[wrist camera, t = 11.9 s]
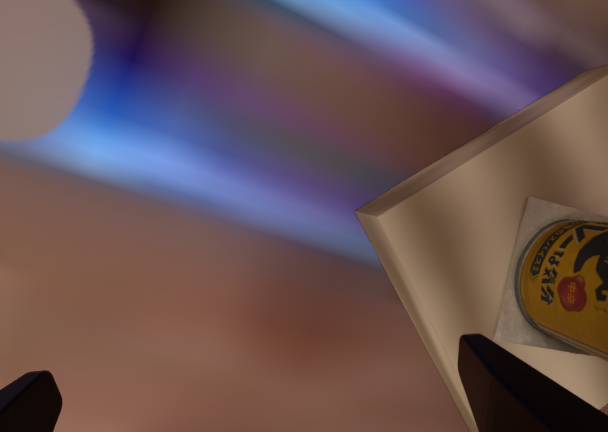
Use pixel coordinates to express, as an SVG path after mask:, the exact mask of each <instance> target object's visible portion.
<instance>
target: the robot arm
mask: <svg viewBox="0 0 608 432" xmlns="http://www.w3.org/2000/svg"><path fill="white" fill-rule="evenodd" d="M458 372H459V376H460V379H461V382H462V385H463V388H464V391H465V393H466V396H467V399H468V402H469V405H470V408H471V411H472V414H473V417H474V420H475V422H476V425H477V428H478V431H479V432H608V415H606V414H605V413H603V412H601V411H600V410H598V409H597V408H595V407H594V406H592V405H591V404H589V403H588V402H586V401H584V400H583V399H581V398H580V397H578V396H577V395H575V394H574V393H572V392H571V391H569V390H567V389H566V388H564V387H563V386H561V385H560V384H558V383H557V382H555V381H554V380H552V379H550V378H549V377H547V376H546V375H544V374H543V373H541V372H540V371H538V370H537V369H535V368H533V367H532V366H530V365H529V364H527V363H526V362H524V361H523V360H521V359H519V358H518V357H516V356H515V355H513V354H512V353H510V352H509V351H507V350H506V349H504V348H502V347H501V346H499V345H498V344H496V343H495V342H493V341H492V340H490V339H489V338H487V337H485V336H484V335H482V334H480V333H473V334H463V335H461V336H460V339H459V350H458ZM61 409H62V397H61V394H60V392H59V389H58V387H57V385H56V382H55V380H54V378H53V375H52V374H51V373H50V372H49V371H46V370H44V371H32V372H28V373H26V374H24V375H23V376H21V377H20V378H18V379H17V380H15V381H14V382H12V383H10V384H9V385H7V386H6V387H4V388H3V389H1V390H0V432H53V430H54V428H55V425H56V422H57V420H58V417H59V414H60V412H61Z"/></svg>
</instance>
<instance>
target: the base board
mask: <svg viewBox="0 0 608 432" xmlns="http://www.w3.org/2000/svg"><path fill="white" fill-rule="evenodd" d="M529 196H531V197H534V198H537V199H541V200H545V201H549V202H553V203H556V204H560V205H564V206H568V207H572V208H576V209H579V210H583V211H587V212H591V213H595V214H599V215H603V216H607V217H608V65H606V66H602V67H598V68H595V69H591V70H587V71H584V72H583V73H581V74H579V75H578V76H576V77H574V78H573V79H571V80H569V81H568V82H566V83H564V84H563V85H561V86H560V87H558V88H556V89H555V90H553V91H551V92H550V93H548V94H546V95H545V96H543V97H541V98H540V99H538V100H537V101H535V102H533V103H532V104H530V105H528V106H527V107H525V108H523V109H522V110H520V111H518V112H517V113H515V114H513V115H512V116H510V117H509V118H507V119H505V120H504V121H502V122H500V123H499V124H497V125H495V126H494V127H492V128H490V129H489V130H487V131H486V132H484V133H482V134H481V135H479V136H477V137H476V138H474V139H472V140H471V141H469V142H467V143H466V144H464V145H462V146H461V147H459V148H458V149H456V150H454V151H453V152H451V153H449V154H448V155H446V156H444V157H443V158H441V159H439V160H438V161H436V162H435V163H433V164H431V165H430V166H428V167H426V168H425V169H423V170H421V171H420V172H418V173H416V174H415V175H413V176H411V177H410V178H408V179H407V180H405V181H403V182H402V183H400V184H398V185H397V186H395V187H393V188H392V189H390V190H388V191H387V192H385V193H384V194H382V195H380V196H379V197H377V198H375V199H374V200H372V201H370V202H369V203H367V204H365V205H364V206H362V207H360V208H359V209H357V210H356V211H354V212H355V214H356V215H357V217H358V219H359V221H360V223H361V225H362V227H363V229H364V231H365V233H366V234H367V236H368V238H369V240H370V242H371V244H372V246H373V248H374V250H375V252H376V253H377V255H378V257H379V259H380V261H381V263H382V265H383V267H384V269H385V271H386V272H387V274H388V276H389V278H390V280H391V282H392V284H393V286H394V288H395V290H396V291H397V293H398V295H399V297H400V299H401V301H402V303H403V305H404V307H405V309H406V311H407V312H408V314H409V316H410V318H411V320H412V322H413V324H414V326H415V328H416V330H417V331H418V333H419V335H420V337H421V339H422V341H423V343H424V345H425V347H426V349H427V350H428V352H429V354H430V356H431V358H432V360H433V362H434V364H435V366H436V368H437V369H438V371H439V373H440V375H441V377H442V379H443V381H444V383H445V385H446V387H447V388H448V390H449V392H450V394H451V396H452V398H453V400H454V402H455V404H456V406H457V407H458V409H459V411H460V413H461V415H462V417H463V419H464V421H465V423H466V425H467V426H468V428H469V430H470V432H479V431H478V428H477V425H476V422H475V420H474V417H473V414H472V411H471V408H470V405H469V402H468V399H467V396H466V393H465V391H464V388H463V385H462V382H461V379H460V376H459V372H458V350H459V339H460V336H461V335H463V334H473V333H480V334H482V335H484V336H485V337H487V338H489V339H490V340H492V341H493V340H494V336H495V333H496V329H497V325H498V320H499V316H500V313H501V305H502V300H503V294H504V290H505V286H506V283H507V278H508V274H509V269H510V264H511V260H512V256H513V253H514V250H515V245H516V241H517V237H518V234H519V232H520V228H521V222H522V220H523V218H524V213H525V209H526V204H527V201H528V198H529ZM493 342H495V343H496V344H498V345H499V346H501V347H502V348H504V349H506V350H507V351H509V352H510V353H512V354H513V355H515V356H516V357H518V358H519V359H521V360H523V361H524V362H526V363H527V364H529V365H530V366H532V367H533V368H535V369H537V370H538V371H540V372H541V373H543V374H544V375H546V376H547V377H549V378H550V379H552V380H554V381H555V382H557V383H558V384H560V385H561V386H563V387H564V388H566V389H567V390H569V391H571V392H572V393H574V394H575V395H577V396H578V397H580V398H581V399H583V400H584V401H586V402H588V403H589V404H591V405H592V406H594V407H595V408H597V409H598V410H600V409H601V408H602V407H604V406H605V405H606V404H607V403H608V362H607V361H605V360H602V359H600V358H598V357H595V356H588V355H583V354H574V353H569V352H565V351H564V352H563V351H558V350H553V349H546V348H540V347H533V346H527V345H520V344H513V343H506V342H499V341H493Z"/></svg>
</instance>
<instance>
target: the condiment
mask: <svg viewBox="0 0 608 432" xmlns="http://www.w3.org/2000/svg"><path fill="white" fill-rule="evenodd" d="M493 341H499V342H506V343H513V344H520V345H527V346H533V347H540V348H546V349H553V350H558V351H563V352H564V351H565V352H569V353H574V354H583V355H588V356H595V357H598V358H600V359H602V360H605V361H607V362H608V217H607V216H603V215H599V214H595V213H591V212H587V211H583V210H579V209H576V208H572V207H568V206H564V205H560V204H556V203H553V202H549V201H545V200H541V199H537V198H534V197H531V196H529V198H528V201H527V204H526V209H525V213H524V218H523V220H522V222H521V228H520V232H519V234H518V237H517V241H516V245H515V250H514V253H513V256H512V260H511V264H510V269H509V274H508V278H507V283H506V286H505V290H504V294H503V300H502V305H501V313H500V316H499V320H498V325H497V329H496V333H495V336H494V340H493Z"/></svg>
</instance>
